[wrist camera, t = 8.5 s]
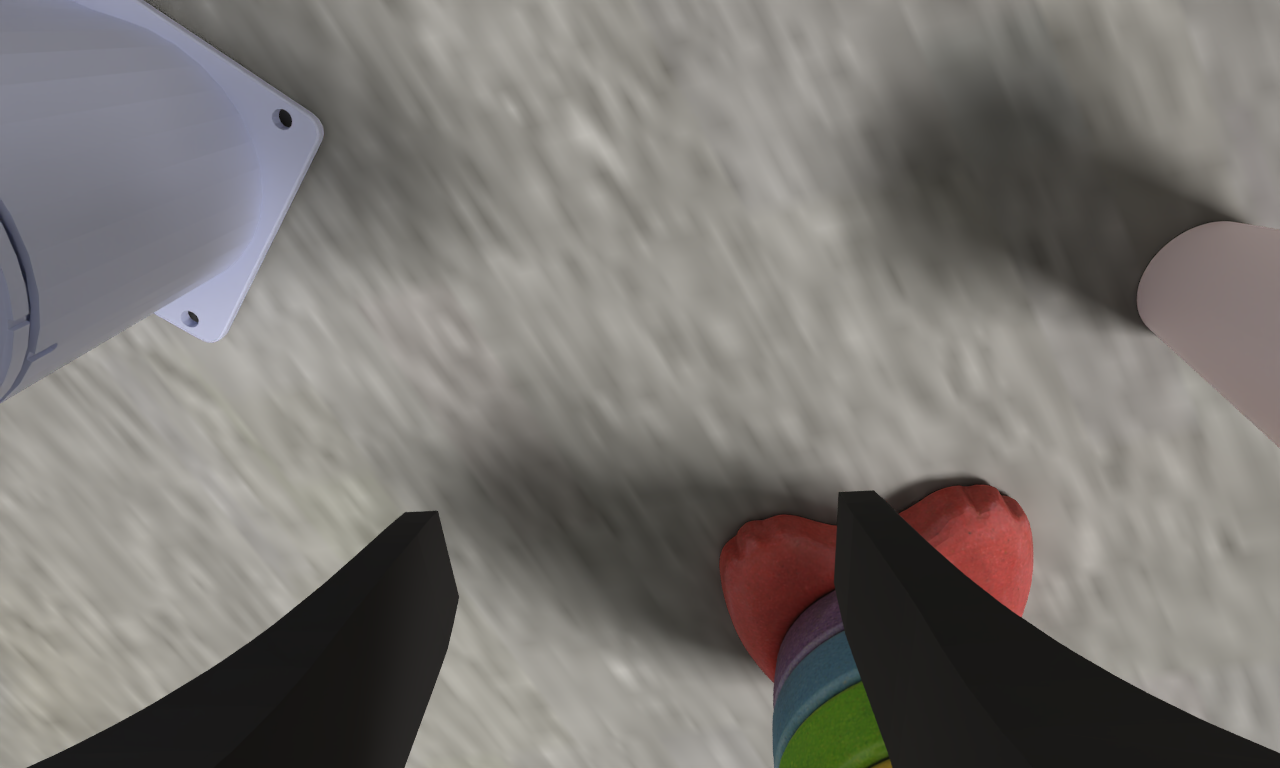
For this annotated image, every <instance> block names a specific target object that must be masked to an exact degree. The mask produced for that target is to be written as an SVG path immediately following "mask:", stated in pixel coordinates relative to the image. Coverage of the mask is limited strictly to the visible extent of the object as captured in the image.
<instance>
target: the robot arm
mask: <svg viewBox="0 0 1280 768" xmlns="http://www.w3.org/2000/svg"><path fill="white" fill-rule="evenodd" d="M281 109H283V110H286V111H287V112H288V113H289V114H290V115H291V118H292V126H291V127H290V128H289V127H286V126H284V125H283V124H282V123H281V121H280V119H279V111H280V110H281ZM323 136H324V130H323V125H322V124H321V122H320V120H319V118H317V117H316V116H315V115H314V114H313V113H312V112H310V111H309V110H307V109H306V108H304V107H303V106H301V105H300V104H298V103H297V102H295V101H294V100H292V99H291V98H289V97H288V96H286V95H285V94H283V93H282V92H280V91H279V90H277V89H276V88H274V87H273V86H271V85H270V84H268V83H267V82H265V81H264V80H262V79H261V78H259V77H258V76H256V75H255V74H253V73H252V72H250V71H249V70H247V69H246V68H244V67H243V66H241V65H240V64H238V63H237V62H235V61H234V60H232V59H231V58H229V57H228V56H226V55H225V54H223V53H222V52H220V51H219V50H217V49H216V48H214V47H213V46H211V45H210V44H208V43H207V42H205V41H204V40H202V39H201V38H199V37H198V36H196V35H195V34H193V33H192V32H190V31H189V30H187V29H186V28H185V27H183V26H182V25H180V24H179V23H177V22H176V21H174V20H173V19H171V18H170V17H168V16H167V15H165V14H164V13H162V12H161V11H159V10H158V9H156V8H155V7H153V6H152V5H150V4H149V3H147V2H146V1H144V0H0V403H2V402H4V401H5V400H7V399H9V398H10V397H12V396H14V395H15V394H17V393H19V392H20V391H22V390H24V389H26V388H27V387H29V386H31V385H32V384H34V383H36V382H37V381H39V380H41V379H42V378H44V377H46V376H48V375H49V374H51V373H53V372H54V371H56V370H58V369H59V368H61V367H63V366H65V365H66V364H68V363H70V362H71V361H73V360H75V359H76V358H78V357H80V356H81V355H83V354H85V353H87V352H88V351H90V350H92V349H93V348H95V347H97V346H98V345H100V344H102V343H103V342H105V341H107V340H109V339H110V338H112V337H114V336H115V335H117V334H119V333H120V332H122V331H124V330H125V329H127V328H129V327H131V326H132V325H134V324H136V323H137V322H139V321H141V320H142V319H144V318H146V317H148V316H149V315H151V314H155V315H157V316H159V317H161V318H162V319H164V320H166V321H168V322H170V323H171V324H173V325H175V326H177V327H179V328H180V329H182V330H184V331H186V332H188V333H189V334H191V335H193V336H195V337H196V338H198V339H200V340H202V341H205V342H212V343H214V342H216V341H219V340H220V339H222V338H223V337H224V336H225V335H226V334H227V333H228V331H229V329H230V327H231V325H232V323H233V321H234V319H235V317H236V315H237V313H238V311H239V309H240V306H241V304H242V302H243V300H244V298H245V296H246V294H247V292H248V290H249V288H250V286H251V284H252V282H253V280H254V278H255V276H256V274H257V272H258V270H259V268H260V266H261V264H262V262H263V260H264V258H265V256H266V254H267V252H268V250H269V248H270V246H271V244H272V242H273V240H274V238H275V236H276V233H277V231H278V229H279V227H280V225H281V223H282V221H283V219H284V217H285V215H286V213H287V211H288V209H289V207H290V205H291V203H292V201H293V199H294V197H295V195H296V193H297V191H298V189H299V187H300V185H301V183H302V181H303V179H304V177H305V175H306V173H307V171H308V169H309V167H310V165H311V163H312V160H313V158H314V156H315V154H316V152H317V150H318V148H319V146H320V144H321V142H322V140H323ZM188 311H190V312H193V313H194V314H195V315H196V316H197V317H198V319H199V322H196V321H193V320H192V319H191V318H190V316H189V314H188ZM834 586H835V590H836V595H837V600H838V604H839V609H840V613H841V618H842V622H843V626H844V631H845V635H846V638H847V641H848V643H849V646H850V649H851V652H852V655H853V658H854V660H855V663H856V666H857V669H858V672H859V675H860V677H861V680H862V683H863V686H864V688H865V691H866V694H867V697H868V700H869V702H870V705H871V708H872V711H873V713H874V716H875V719H876V722H877V724H878V727H879V730H880V733H881V735H882V738H883V741H884V744H885V747H886V749H887V752H888V755H889V758H890V762H891V765H892V768H1280V753H1278V752H1276V751H1273V750H1271V749H1269V748H1266V747H1264V746H1262V745H1259V744H1257V743H1255V742H1252V741H1250V740H1247V739H1245V738H1243V737H1240V736H1238V735H1236V734H1233V733H1231V732H1229V731H1226V730H1224V729H1222V728H1219V727H1217V726H1215V725H1212V724H1210V723H1208V722H1206V721H1204V720H1201V719H1199V718H1197V717H1195V716H1193V715H1191V714H1189V713H1187V712H1185V711H1183V710H1181V709H1179V708H1177V707H1175V706H1173V705H1171V704H1169V703H1167V702H1165V701H1162V700H1160V699H1158V698H1156V697H1154V696H1152V695H1150V694H1148V693H1146V692H1145V691H1143V690H1141V689H1139V688H1137V687H1135V686H1133V685H1131V684H1130V683H1128V682H1126V681H1124V680H1122V679H1120V678H1118V677H1116V676H1115V675H1113V674H1111V673H1110V672H1108V671H1106V670H1104V669H1103V668H1101V667H1099V666H1097V665H1096V664H1094V663H1092V662H1091V661H1089V660H1087V659H1085V658H1084V657H1082V656H1080V655H1078V654H1077V653H1075V652H1073V651H1072V650H1070V649H1069V648H1067V647H1065V646H1064V645H1062V644H1060V643H1059V642H1057V641H1056V640H1054V639H1053V638H1051V637H1050V636H1048V635H1047V634H1045V633H1044V632H1042V631H1041V630H1039V629H1038V628H1036V627H1035V626H1033V625H1032V624H1030V623H1029V622H1027V621H1026V620H1024V619H1023V618H1021V617H1020V616H1018V615H1017V614H1016V613H1014V612H1013V611H1011V610H1010V609H1009V608H1007V607H1006V606H1005V605H1003V604H1002V603H1000V602H999V601H998V600H997V599H995V598H994V597H993V596H991V595H990V594H989V593H988V592H986V591H985V590H984V589H983V588H981V587H980V586H979V585H977V584H976V583H975V582H974V581H972V580H971V579H970V578H969V577H967V576H966V575H965V574H964V573H963V572H961V571H960V570H959V569H958V568H957V567H956V566H954V565H953V564H952V563H951V562H950V561H949V560H948V559H946V558H945V557H944V556H943V555H942V554H941V553H940V552H939V551H937V550H936V549H935V548H934V547H933V546H932V545H931V544H930V543H929V542H928V541H926V540H925V539H924V538H923V537H922V536H921V535H920V534H919V533H918V532H917V531H916V530H915V529H914V528H913V527H912V526H911V525H909V524H908V523H907V522H906V521H905V520H904V519H903V518H902V517H901V516H900V515H899V514H898V513H897V512H896V511H895V510H894V509H893V508H892V507H891V506H890V505H889V504H888V503H887V502H886V501H885V500H884V499H883V498H881V497H880V496H879V495H878V494H877V493H876V492H875V491H853V492H839V497H838V515H837V533H836V551H835V569H834ZM458 599H459V595H458V591H457V587H456V583H455V579H454V575H453V571H452V567H451V563H450V559H449V555H448V551H447V546H446V542H445V538H444V534H443V530H442V526H441V522H440V518H439V514H438V511H424V512H405V513H404V514H403V515H401V516H400V517H399V518H398V519H396V520H395V521H394V522H393V523H392V524H391V525H389V526H388V527H387V528H386V529H385V530H384V531H383V532H382V533H380V534H379V535H378V536H377V537H376V538H375V539H374V540H373V541H372V542H370V543H369V544H368V545H367V546H366V547H365V548H364V549H363V550H362V551H360V552H359V553H358V554H357V555H356V556H355V557H354V558H353V559H351V560H350V561H349V562H348V563H347V564H346V565H345V566H344V567H342V568H341V569H340V570H339V571H338V572H337V573H336V574H334V575H333V576H332V577H331V578H330V579H329V580H328V581H327V582H325V583H324V584H323V585H322V586H321V587H319V588H318V589H317V590H316V591H314V592H313V593H312V594H311V595H310V596H308V597H307V598H306V599H305V600H303V601H302V602H301V603H300V604H298V605H297V606H296V607H295V608H293V609H292V610H291V611H290V612H289V613H287V614H286V615H285V616H284V617H282V618H281V619H280V620H279V621H277V622H276V623H275V624H274V625H272V626H271V627H270V628H268V629H267V630H266V631H264V632H263V633H261V634H260V635H259V636H257V637H256V638H255V639H253V640H252V641H251V642H249V643H248V644H246V645H245V646H243V647H242V648H240V649H239V650H237V651H236V652H235V653H233V654H232V655H230V656H229V657H227V658H226V659H224V660H223V661H222V662H220V663H218V664H217V665H215V666H214V667H212V668H211V669H209V670H208V671H206V672H204V673H203V674H201V675H199V676H198V677H196V678H195V679H193V680H191V681H190V682H188V683H186V684H185V685H183V686H181V687H180V688H178V689H176V690H175V691H173V692H171V693H170V694H168V695H167V696H165V697H163V698H162V699H160V700H158V701H157V702H155V703H153V704H152V705H150V706H148V707H146V708H145V709H143V710H141V711H139V712H137V713H135V714H134V715H132V716H130V717H128V718H126V719H124V720H123V721H121V722H119V723H117V724H115V725H113V726H111V727H110V728H108V729H106V730H104V731H102V732H100V733H98V734H96V735H94V736H92V737H90V738H88V739H86V740H84V741H82V742H80V743H78V744H76V745H74V746H72V747H70V748H68V749H66V750H64V751H62V752H60V753H58V754H56V755H54V756H51V757H49V758H47V759H45V760H43V761H40V762H38V763H36V764H34V765H32V766H29V767H27V768H404V767H405V764H406V762H407V759H408V756H409V754H410V751H411V748H412V745H413V743H414V740H415V737H416V735H417V732H418V729H419V726H420V724H421V721H422V718H423V716H424V713H425V710H426V707H427V705H428V702H429V699H430V697H431V694H432V691H433V688H434V686H435V683H436V680H437V677H438V675H439V672H440V669H441V666H442V663H443V661H444V658H445V655H446V652H447V649H448V645H449V641H450V636H451V632H452V628H453V623H454V619H455V614H456V609H457V604H458Z"/></svg>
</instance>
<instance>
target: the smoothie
mask: <svg viewBox="0 0 1280 768" xmlns="http://www.w3.org/2000/svg"><path fill="white" fill-rule="evenodd" d="M1137 308H1138V312H1139V315H1140V317H1141V319H1142V321H1143V322H1144V324H1145V325H1146V326H1147V327H1148V328H1149V329H1150V330H1151V331H1152V332H1153V333H1154V334H1155V335H1157V336H1158V337H1159V338H1160V339H1161V340H1162V341H1163V342H1164V343H1165V344H1166V345H1167V346H1169V347H1170V348H1171V349H1172V350H1173V351H1174V352H1175V353H1176V354H1177V355H1178V356H1180V357H1181V358H1182V359H1183V360H1184V361H1185V362H1186V363H1187V364H1188V365H1189V366H1190V367H1192V368H1193V369H1194V370H1195V371H1196V372H1197V373H1198V374H1199V375H1200V376H1201V377H1203V378H1204V379H1205V380H1206V381H1207V382H1208V383H1209V384H1210V385H1211V386H1212V387H1213V388H1215V389H1216V390H1217V391H1218V392H1219V393H1220V394H1221V395H1222V396H1223V397H1224V398H1226V399H1227V400H1228V401H1229V402H1230V403H1231V404H1232V405H1233V406H1234V407H1235V408H1236V409H1238V410H1239V411H1240V412H1241V413H1242V414H1243V415H1244V416H1245V417H1246V418H1247V419H1249V420H1250V421H1251V422H1252V423H1253V424H1254V425H1255V426H1256V427H1257V428H1258V429H1259V430H1261V431H1262V432H1263V433H1264V434H1265V435H1266V436H1267V437H1268V438H1269V439H1270V440H1271V441H1273V442H1274V443H1275V444H1276V445H1277V446H1278V447H1279V448H1280V230H1279V229H1273V228H1267V227H1261V226H1255V225H1249V224H1243V223H1238V222H1230V221H1219V222H1211V223H1207V224H1203V225H1200V226H1197V227H1194V228H1192V229H1190V230H1188V231H1186V232H1184V233H1182V234H1180V235H1179V236H1177V237H1176V238H1174V239H1173V240H1171V241H1170V242H1169V243H1168V244H1166V245H1165V246H1164V247H1163V248H1162V249H1161V250H1160V251H1159V252H1158V253H1157V254H1156V255H1155V256H1154V258H1153V259H1152V260H1151V262H1150V263H1149V265H1148V266H1147V268H1146V270H1145V271H1144V273H1143V275H1142V278H1141V280H1140V283H1139V287H1138V292H1137Z"/></svg>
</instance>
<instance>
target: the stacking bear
mask: <svg viewBox="0 0 1280 768" xmlns="http://www.w3.org/2000/svg"><path fill="white" fill-rule="evenodd" d="M899 515H900V516H901V517H902V518H903V519H904V520H905V521H906V522H907V523H908V524H909V525H911V526H912V527H913V528H914V529H915V530H916V531H917V532H918V533H919V534H920V535H921V536H922V537H923V538H924V539H925V540H926V541H928V542H929V543H930V544H931V545H932V546H933V547H934V548H935V549H936V550H937V551H939V552H940V553H941V554H942V555H943V556H944V557H945V558H946V559H948V560H949V561H950V562H951V563H952V564H953V565H954V566H956V567H957V568H958V569H959V570H960V571H961V572H963V573H964V574H965V575H966V576H967V577H969V578H970V579H971V580H972V581H974V582H975V583H976V584H977V585H979V586H980V587H981V588H983V589H984V590H985V591H986V592H988V593H989V594H990V595H991V596H993V597H994V598H995V599H997V600H998V601H999V602H1000V603H1002V604H1003V605H1005V606H1006V607H1007V608H1009V609H1010V610H1011V611H1013V612H1014V613H1016V614H1017V615H1018V616H1020V617H1022V615H1023V611H1024V608H1025V605H1026V602H1027V599H1028V595H1029V591H1030V586H1031V581H1032V571H1033V541H1032V533H1031V528H1030V524H1029V521H1028V518H1027V516H1026V514H1025V513H1024V511H1023V509H1022V508H1021V506H1020V505H1019V503H1018V502H1017V501H1016V500H1014V499H1013V498H1011V497H1008V496H1003V495H1001V494H1000V492H999V491H998V490H997V489H996V488H994V487H992V486H989V485H972V486H968V487H967V486H951V487H946V488H943V489H940V490H938V491H936V492H934V493H932V494H930V495H928V496H927V497H925V498H924V499H922V500H921V501H919V502H918V503H916V504H915V505H913V506H911V507H910V508H908V509H907V510H905V511H903V512H901V513H899ZM836 533H837V526H836V525H829V524H824V523H820V522H816V521H813V520H809V519H806V518H803V517H799V516H794V515H785V514H783V515H776V516H773V517H770V518H768V519H765V520H755V521H749V522H747V523H745V524H744V525H743V526H742V527H741V528H740V529H739V531H738V533H737V535H736V536H735V537H733V538H732V539H731V540H729V541H728V542H727V543H726V544H725V546H724V547H723V549H722V552H721V555H720V561H719V568H720V576H721V584H722V589H723V593H724V598H725V602H726V605H727V609H728V611H729V614H730V617H731V620H732V622H733V625H734V627H735V630H736V632H737V634H738V636H739V638H740V640H741V641H742V643H743V645H744V647H745V648H746V650H747V651H748V653H749V654H750V655H751V657H752V658H753V660H754V661H755V662H756V664H757V665H758V666H759V667H760V669H761V670H762V671H763V672H764V673H765V674H766V675H767V676H768V678H769V679H770V680H771V681H772V682H773V683H774V693H773V706H774V713H773V757H774V768H892V765H891V762H890V758H889V755H888V752H887V749H886V747H885V744H884V741H883V738H882V735H881V733H880V730H879V727H878V724H877V722H876V719H875V716H874V713H873V711H872V708H871V705H870V702H869V700H868V697H867V694H866V691H865V688H864V686H863V683H862V680H861V677H860V675H859V672H858V669H857V666H856V663H855V660H854V658H853V655H852V652H851V649H850V646H849V643H848V641H847V638H846V635H845V631H844V626H843V622H842V618H841V613H840V609H839V604H838V600H837V595H836V590H835V586H834V569H835V551H836Z"/></svg>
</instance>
